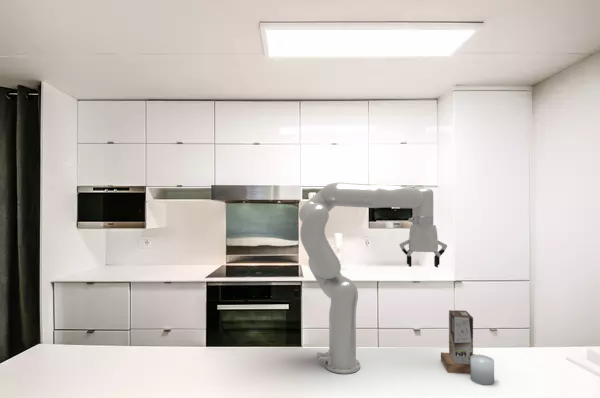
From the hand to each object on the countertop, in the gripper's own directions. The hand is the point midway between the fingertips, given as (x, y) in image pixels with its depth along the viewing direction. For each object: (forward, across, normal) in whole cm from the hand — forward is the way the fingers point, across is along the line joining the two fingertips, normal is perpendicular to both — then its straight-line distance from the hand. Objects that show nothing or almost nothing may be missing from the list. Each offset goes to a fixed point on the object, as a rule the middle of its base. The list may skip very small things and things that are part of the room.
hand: (422, 266), depth 143 cm
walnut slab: (+34, +12, -7) cm, 37 cm away
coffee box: (+32, +12, -7) cm, 34 cm away
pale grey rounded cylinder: (+34, +16, -16) cm, 41 cm away
